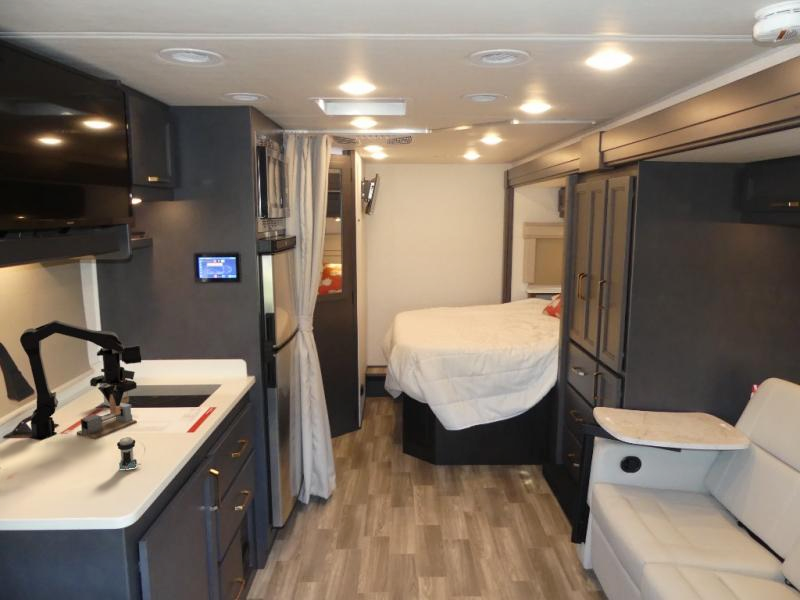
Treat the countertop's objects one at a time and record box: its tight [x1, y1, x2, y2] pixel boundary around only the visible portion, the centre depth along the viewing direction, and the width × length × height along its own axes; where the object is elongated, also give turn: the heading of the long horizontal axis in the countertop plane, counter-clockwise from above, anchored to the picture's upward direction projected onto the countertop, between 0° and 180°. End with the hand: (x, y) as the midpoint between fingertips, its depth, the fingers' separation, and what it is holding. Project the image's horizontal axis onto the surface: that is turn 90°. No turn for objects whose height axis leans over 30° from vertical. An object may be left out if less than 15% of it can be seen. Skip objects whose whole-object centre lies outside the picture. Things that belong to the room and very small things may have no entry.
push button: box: [116, 436, 142, 471], centre depth 187 cm, size 7×5×10 cm
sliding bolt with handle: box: [101, 393, 123, 422], centre depth 221 cm, size 14×3×9 cm, turn 154°
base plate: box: [76, 417, 138, 440], centre depth 221 cm, size 18×10×1 cm, turn 154°
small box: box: [103, 378, 129, 407], centre depth 248 cm, size 8×6×10 cm
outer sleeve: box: [80, 414, 103, 435], centre depth 215 cm, size 6×4×6 cm
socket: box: [116, 403, 134, 422], centre depth 227 cm, size 3×6×6 cm, turn 65°
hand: (114, 405), depth 223 cm, fingers closed on sliding bolt with handle, 3 cm apart
